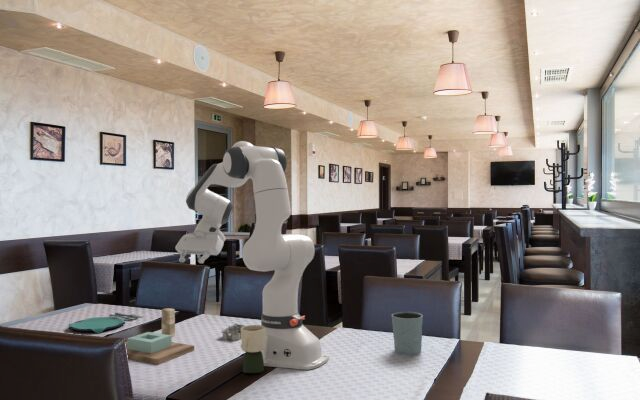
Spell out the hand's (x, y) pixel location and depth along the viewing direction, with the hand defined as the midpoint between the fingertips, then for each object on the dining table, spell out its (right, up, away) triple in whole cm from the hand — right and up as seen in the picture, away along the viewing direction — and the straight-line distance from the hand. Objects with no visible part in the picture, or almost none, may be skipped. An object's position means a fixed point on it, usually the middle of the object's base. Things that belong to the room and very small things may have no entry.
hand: (190, 262), depth 201 cm
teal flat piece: (-36, -27, +9) cm, 46 cm away
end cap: (-6, -25, -29) cm, 39 cm away
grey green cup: (+79, -26, -30) cm, 88 cm away
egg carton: (+19, -26, -11) cm, 34 cm away
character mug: (+31, -27, -49) cm, 64 cm away
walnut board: (-6, -26, -29) cm, 40 cm away
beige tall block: (-6, -26, -10) cm, 29 cm away
